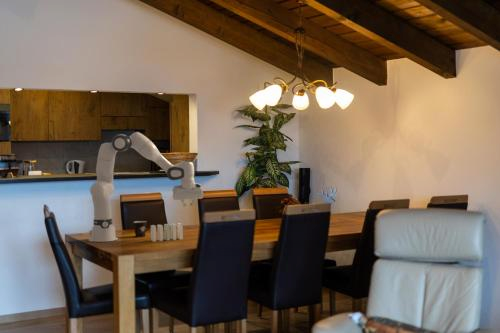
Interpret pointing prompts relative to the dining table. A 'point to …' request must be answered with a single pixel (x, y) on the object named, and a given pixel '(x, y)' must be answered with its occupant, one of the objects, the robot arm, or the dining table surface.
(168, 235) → the domino
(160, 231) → the domino
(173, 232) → the domino
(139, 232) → the coffee mug
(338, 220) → the dining table surface
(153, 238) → the domino
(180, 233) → the domino
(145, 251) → the dining table surface
